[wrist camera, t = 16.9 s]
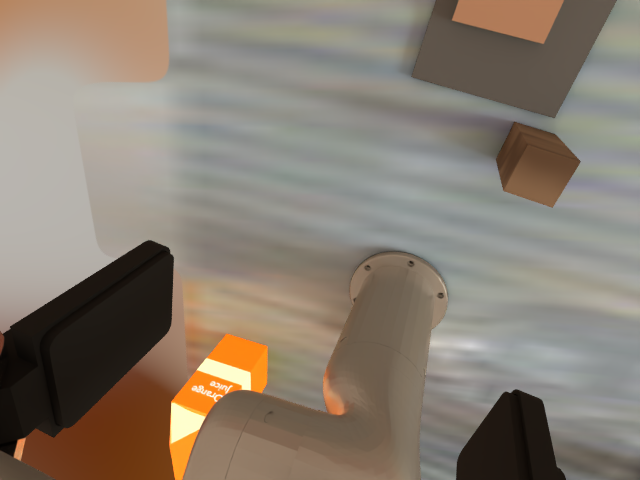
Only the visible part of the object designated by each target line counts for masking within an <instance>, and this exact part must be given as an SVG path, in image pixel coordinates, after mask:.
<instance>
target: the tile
mask: <svg viewBox="0 0 640 480" xmlns="http://www.w3.org/2000/svg"><path fill="white" fill-rule="evenodd" d="M563 2H564V0H459V1H458V4H457V7H456V10H455V12H454V15H453V18H452V21H454V22H458V23H462V24H466V25H470V26H474V27H478V28H481V29H485V30H489V31H493V32H497V33H501V34H505V35H509V36H513V37H516V38H520V39H524V40H528V41H532V42H536V43H540V44H544V42H545V40H546V38H547V36H548V34H549V32H550V29H551V27H552V25H553V23H554V21H555V19H556V17H557V14H558V12H559V10H560V8H561V6H562V4H563Z"/></svg>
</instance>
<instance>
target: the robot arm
mask: <svg viewBox="0 0 640 480" xmlns="http://www.w3.org/2000/svg"><path fill="white" fill-rule="evenodd" d="M411 261H413V262H411ZM368 265H369V266H368ZM173 266H174V257H173V255H172V254H170V250H169V248H168V247H166V246H163V245H161V244H158V243H156V242H154V241H151V240H148V241H146V242H144V243H142V244H141V245H139V246H137V247H136V248H134V249H133V250H131V251H129V252H128V253H126V254H125V255H123V256H121V257H120V258H118V259H117V260H115V261H114V262H112V263H110V264H109V265H107V266H106V267H104V268H102V269H101V270H99V271H98V272H96V273H94V274H93V275H91V276H90V277H88V278H87V279H85V280H83V281H82V282H80V283H79V284H77V285H75V286H74V287H72V288H71V289H69V290H68V291H66V292H64V293H63V294H61V295H60V296H58V297H56V298H55V299H53V300H52V301H50V302H48V303H47V304H45V305H44V306H42V307H40V308H39V309H37V310H36V311H34V312H33V313H31V314H30V315H28V316H26V317H25V318H23V319H21V320H20V321H18V322H17V323H15V324H13V325H12V326H10V328H11V329H10V330H8V331H6V332H5V333H3V334H2V333H1V331H0V480H55V479H53V478H52V477H50V476H48V475H46V474H44V473H43V472H41V471H39V470H37V469H35V468H33V467H31V466H29V465H27V464H25V463H23V462H21V461H20V460H21V456H22V452H23V447H24V443H25V438H26V436H27V435H29V434H30V433H31V432H32V431H33V430H34V429H35V428H36V429H39V430H40V431H42V432H44V433H46V434H48V435H49V436H51V437H55V436H56V435H57V434H58V433H59V432H60V431H61V430H62V429H63V428H69V427H71V426H73V425H74V424H75V423H76V422H77V421H78V420H79V419H80V418H81V417H82V416H84V415H85V413H87V412H88V411H89V410H90V409H91V408H92V406H94V405H95V404H96V403H97V402H98V401H99V400H100V399H101V398H102V397H103V396H104V395H105V394H106V393H107V392H108V391H109V390H110V389H111V388H112V387H113V386H114V385H115V384H116V383H117V382H118V381H119V380H120V379H121V378H122V377H123V376H124V375H125V374H126V373H127V372H128V371H129V370H130V369H131V368H132V367H133V366H134V365H135V364H136V363H137V362H139V360H141V358H143V357H144V356H145V355H146V354H147V353H148V352H149V351H150V350H151V349H152V348H153V347H154V346H155V344H157V343H158V342H159V341H160V340H161V339H162V338H163V337H164V336H165V335H166V334H167V332H168V331H169V329H170V326H171V320H172V293H173ZM350 299H351V302H352V305H353V307H352V309H351V312H350V314H349V316H348V319H347V321H346V323H345V326H344V328H343V330H342V333H341V335H340V337H339V340H338V342H337V344H336V347H335V349H334V351H333V354H332V356H331V358H330V361H329V363H328V365H327V368H326V371H325V374H324V380H323V396H324V401H325V406H326V409H327V412H328V413H327V412H323V411H320V410H318V411H317V410H314V409H311V408H308V407H305V406H302V405H299V404H295V403H292V402H289V401H286V400H283V399H280V398H277V397H274V396H270V395H267V394H264V393H260V392H256V391H252V390H234V391H232V392H229V393H227V394H225V395H224V396H222V397H221V398H220V399H219V400H218V401H217V402H216V403H215V404H214V405H213V406H212V408H211V409H210V411H209V412H208V414H207V415H206V417H205V419H204V421H203V423H202V425H201V427H200V429H199V432H198V434H197V436H196V439H195V441H194V444H193V447H192V450H191V453H190V456H189V459H188V462H187V465H186V468H185V472H184V475H183V478H182V480H421V471H420V422H421V412H422V403H423V394H424V386H425V378H426V370H427V362H428V354H429V345H430V337H431V330H432V329H433V328H435V327H436V326H437V325H438V324H439V323H440V322H441V320H442V319H443V317H444V315H445V313H446V310H447V304H448V292H447V288H446V284H445V282H444V280H443V278H442V277H441V275H440V274H439V273H438V271H437V270H436V269H435V268H434V267H433V266H431V265H430V264H429V263H428V262H426V261H424V260H423V259H421V258H419V257H417V256H414V255H412V254H408V253H403V252H384V253H380V254H376V255H374V256H372V257H370V258H368V259H366V260H365V261H364V262H362V263H361V264H360V265H359V267H358V268H357V269H356V271H355V273H354V275H353V277H352V280H351V283H350ZM456 480H566V478H565V475H564V473H563V472H562V471H561V469H559V468H557V466H556V461H555V456H554V451H553V446H552V442H551V437H550V432H549V427H548V423H547V418H546V413H545V408H544V404H543V401H542V400H541V399H539V398H537V397H534V396H532V395H529V394H527V393H524V392H522V391H520V390H516V389H515V390H513V391H512V392H511V393H509V392H504V393H503V394H502V395H501V397H500V398H499V399H498V401H497V402H496V404H495V405H494V406H493V408H492V409H491V411H490V412H489V413H488V415H487V416H486V418H485V419H484V420H483V422H482V423H481V424H480V426H479V427H478V429H477V430H476V431H475V433H474V434H473V436H472V437H471V438H470V440H469V441H468V443H467V444H466V445H465V447H464V448H463V449H462V451H461V453H460V455H459V457H458V461H457V474H456Z"/></svg>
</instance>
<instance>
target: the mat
mask: <svg viewBox="0 0 640 480" xmlns="http://www.w3.org/2000/svg"><path fill="white" fill-rule="evenodd" d="M458 1H459V0H436V2H435V6H434V9H433V12H432V15H431V18H430V21H429V24H428V27H427V30H426V33H425V36H424V40H423V43H422V46H421V49H420V52H419V55H418V58H417V61H416V64H415V67H414V70H413V74H412V77H413V78H417V79H420V80H424V81H427V82H431V83H434V84H438V85H441V86H445V87H448V88H452V89H455V90H459V91H462V92H466V93H469V94H473V95H476V96H480V97H483V98H487V99H490V100H494V101H497V102H501V103H504V104H508V105H511V106H515V107H518V108H522V109H525V110H529V111H532V112H535V113H539V114H542V115H546V116H549V117H553V118H555V116H556V115H557V113H558V111H559V109H560V107H561V105H562V103H563V101H564V99H565V98H566V96H567V94H568V92H569V90H570V88H571V86H572V84H573V82H574V80H575V79H576V77H577V75H578V73H579V71H580V69H581V67H582V65H583V63H584V62H585V60H586V58H587V56H588V54H589V52H590V50H591V48H592V46H593V44H594V43H595V41H596V39H597V37H598V35H599V33H600V31H601V29H602V27H603V26H604V24H605V22H606V20H607V18H608V16H609V14H610V12H611V10H612V8H613V7H614V5H615V3H616V1H617V0H564V2H563V4H562V6H561V8H560V10H559V12H558V14H557V17H556V19H555V21H554V23H553V25H552V27H551V29H550V32H549V34H548V36H547V38H546V40H545V42H544V44H540V43H536V42H532V41H528V40H524V39H520V38H516V37H513V36H509V35H505V34H501V33H497V32H493V31H489V30H485V29H481V28H478V27H474V26H470V25H466V24H462V23H458V22H454V21H452V18H453V15H454V12H455V10H456V7H457V4H458Z"/></svg>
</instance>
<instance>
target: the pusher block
mask: <svg viewBox="0 0 640 480" xmlns="http://www.w3.org/2000/svg"><path fill="white" fill-rule="evenodd" d="M496 162H497V166H498V170H499V174H500V179H501V183H502V187H503V191H505V192H508V193H511V194H514V195H517V196H520V197H523V198H526V199H529V200H532V201H535V202H538V203H541V204H543V205H546V206H549V207H552V208H553V206H554V204H555V203H556V201H557V199H558V198H559V196H560V195H561V193H562V191H563V190H564V188H565V187H566V185H567V183H568V182H569V180H570V178H571V177H572V175H573V174H574V172H575V170H576V169H577V167H578V165H579V164H580V162H581V161H580V160H579V159H578V158H577V157H576V156H575V155H574V154H573V153H572V152H571V151H570V149H569V148H568V147H567V146H566V145H565V144H564V143H563V142H562V141H561V140H560V139H559V138H558V137H557V135H555V134H552V133H549V132H546V131H543V130H539V129H536V128H533V127H530V126H526V125H523V124H520V123H517V122H514V124H513V126H512V128H511V130H510V132H509V134H508V136H507V138H506V140H505V142H504V144H503V146H502V148H501V150H500V152H499V154H498V156H497V158H496Z"/></svg>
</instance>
